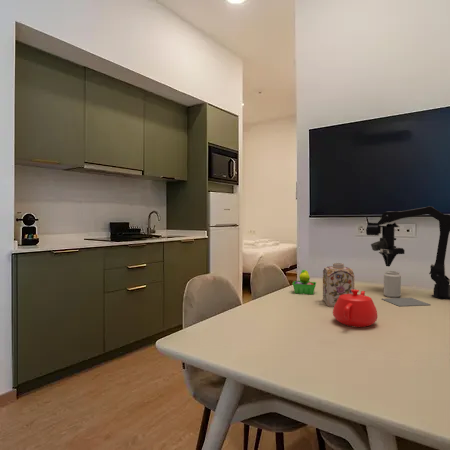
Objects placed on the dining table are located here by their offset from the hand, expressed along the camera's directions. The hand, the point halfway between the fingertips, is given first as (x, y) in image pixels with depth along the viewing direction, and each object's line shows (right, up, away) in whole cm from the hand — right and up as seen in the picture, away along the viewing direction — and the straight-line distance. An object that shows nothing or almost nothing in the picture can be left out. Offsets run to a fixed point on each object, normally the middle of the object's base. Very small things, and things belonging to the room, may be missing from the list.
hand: (387, 266), depth 182 cm
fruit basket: (-43, -13, -1) cm, 45 cm away
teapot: (-35, -15, -51) cm, 64 cm away
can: (-3, -14, -10) cm, 17 cm away
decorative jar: (-33, -14, -23) cm, 43 cm away
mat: (-2, -14, -22) cm, 26 cm away
